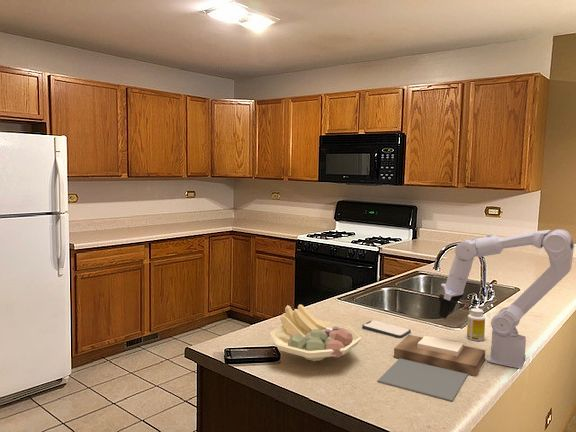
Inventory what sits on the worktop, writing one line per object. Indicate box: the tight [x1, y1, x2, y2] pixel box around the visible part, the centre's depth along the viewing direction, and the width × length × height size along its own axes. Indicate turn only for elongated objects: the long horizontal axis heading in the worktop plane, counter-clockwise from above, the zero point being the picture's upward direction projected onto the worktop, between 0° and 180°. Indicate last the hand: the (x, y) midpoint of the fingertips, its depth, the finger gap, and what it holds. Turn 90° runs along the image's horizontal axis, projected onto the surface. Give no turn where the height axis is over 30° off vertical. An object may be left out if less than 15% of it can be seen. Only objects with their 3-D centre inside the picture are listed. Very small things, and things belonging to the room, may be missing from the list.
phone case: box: [361, 319, 412, 339], centre depth 169 cm, size 9×2×16 cm
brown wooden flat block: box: [393, 334, 486, 377], centre depth 144 cm, size 24×14×3 cm, turn 57°
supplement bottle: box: [466, 307, 486, 342], centre depth 160 cm, size 6×6×10 cm
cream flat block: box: [417, 335, 465, 357], centre depth 144 cm, size 12×8×2 cm, turn 57°
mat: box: [377, 358, 469, 402], centre depth 130 cm, size 20×18×1 cm
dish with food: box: [269, 304, 362, 362], centre depth 144 cm, size 28×28×14 cm
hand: (445, 313), depth 152 cm, fingers open, 7 cm apart
